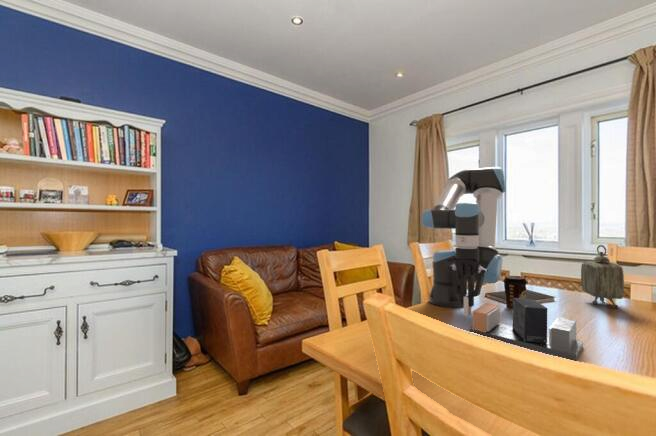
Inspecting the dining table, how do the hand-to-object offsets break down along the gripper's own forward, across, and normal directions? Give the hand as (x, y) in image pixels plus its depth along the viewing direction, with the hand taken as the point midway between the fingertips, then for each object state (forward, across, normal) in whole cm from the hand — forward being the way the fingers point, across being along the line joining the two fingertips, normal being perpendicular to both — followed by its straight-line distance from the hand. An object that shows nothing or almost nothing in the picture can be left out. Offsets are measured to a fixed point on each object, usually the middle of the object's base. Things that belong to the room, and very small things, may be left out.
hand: (467, 315), depth 110 cm
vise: (+4, +17, +1) cm, 18 cm away
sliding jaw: (+3, +6, 0) cm, 7 cm away
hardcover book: (+5, +2, +51) cm, 52 cm away
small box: (+3, +18, +1) cm, 19 cm away
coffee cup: (+4, +6, +33) cm, 34 cm away
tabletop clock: (+4, +29, +64) cm, 70 cm away
